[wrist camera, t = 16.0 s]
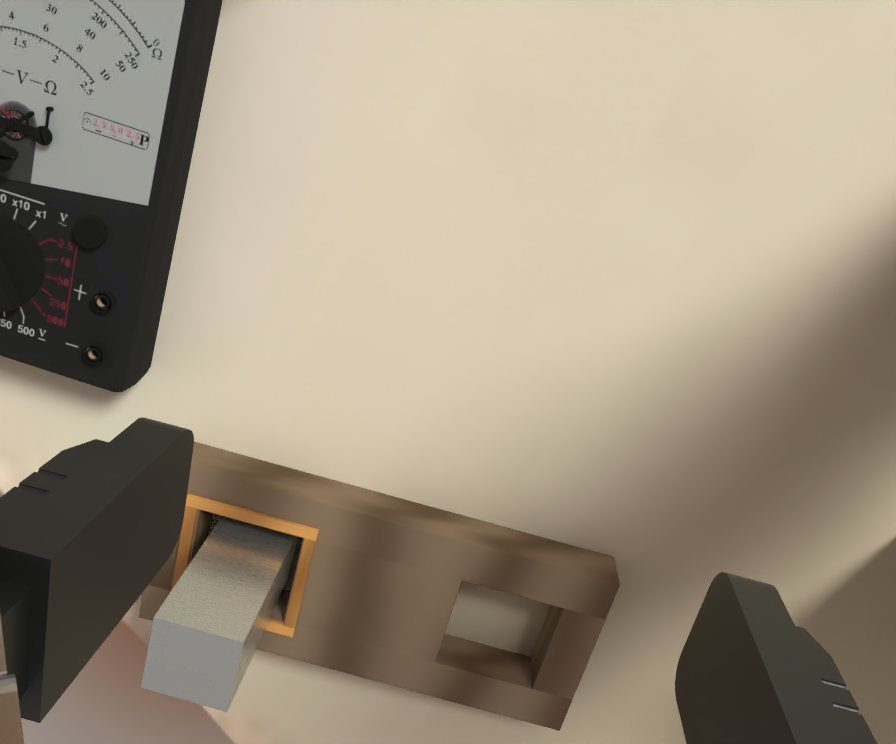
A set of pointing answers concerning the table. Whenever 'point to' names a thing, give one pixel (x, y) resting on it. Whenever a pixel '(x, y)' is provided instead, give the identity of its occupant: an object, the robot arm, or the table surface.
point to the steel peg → (218, 613)
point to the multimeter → (94, 175)
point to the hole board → (401, 586)
